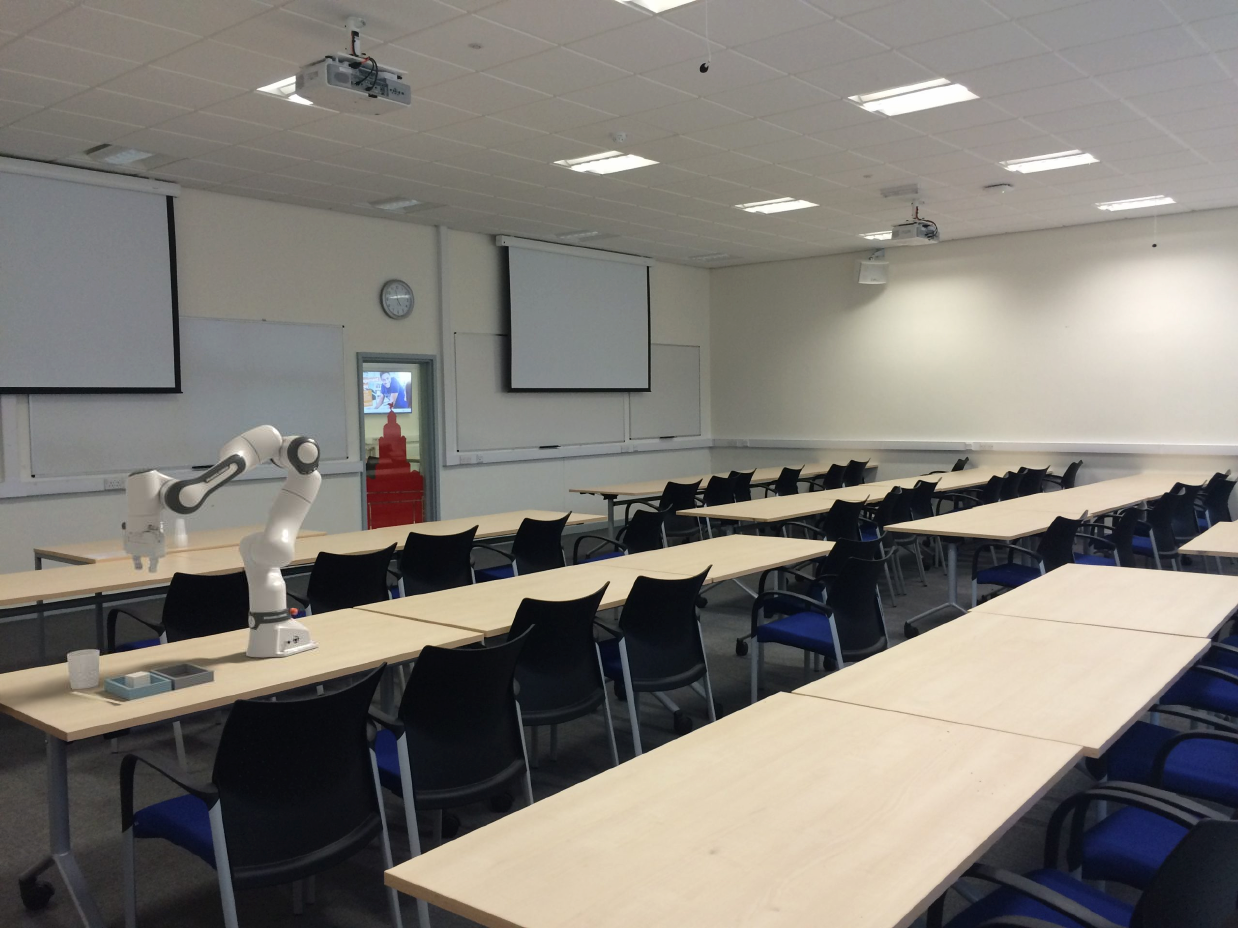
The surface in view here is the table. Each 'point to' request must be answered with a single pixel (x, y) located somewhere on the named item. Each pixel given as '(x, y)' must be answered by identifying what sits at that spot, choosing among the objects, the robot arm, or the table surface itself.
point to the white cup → (83, 668)
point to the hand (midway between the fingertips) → (145, 571)
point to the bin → (155, 687)
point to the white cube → (137, 679)
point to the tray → (185, 675)
